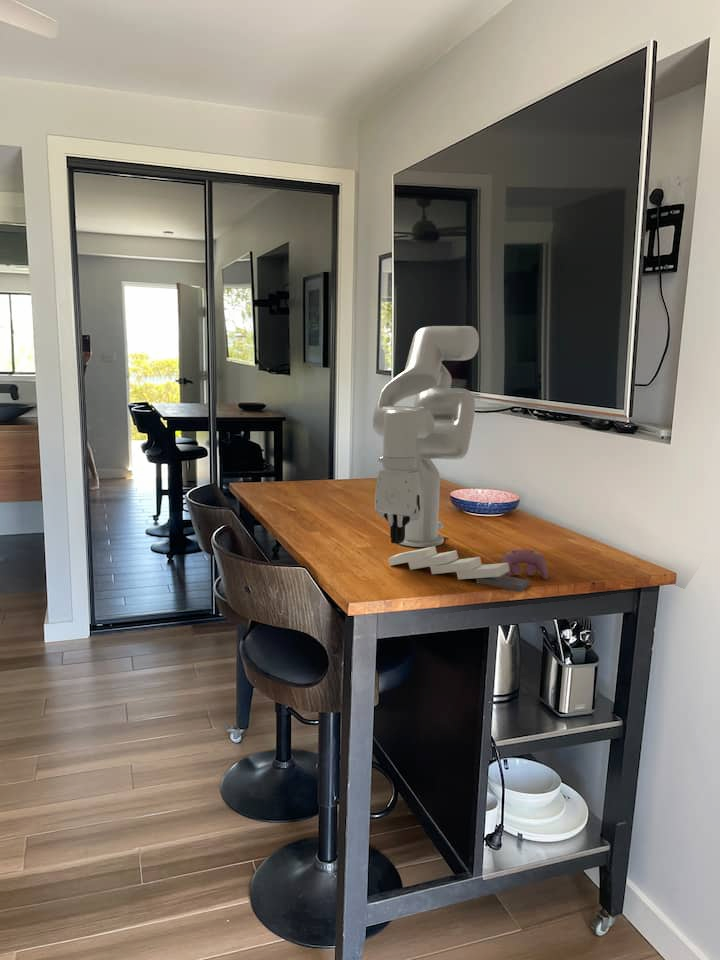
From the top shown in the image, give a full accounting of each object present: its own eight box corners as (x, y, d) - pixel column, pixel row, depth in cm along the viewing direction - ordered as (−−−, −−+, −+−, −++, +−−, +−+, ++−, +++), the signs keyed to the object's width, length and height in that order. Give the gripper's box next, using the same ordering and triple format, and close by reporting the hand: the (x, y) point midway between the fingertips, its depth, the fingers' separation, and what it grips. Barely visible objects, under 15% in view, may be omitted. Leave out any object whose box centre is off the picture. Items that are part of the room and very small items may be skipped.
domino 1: (387, 558, 165) (424, 550, 159) (399, 553, 169) (435, 546, 164) (390, 565, 165) (426, 558, 159) (401, 561, 169) (437, 553, 163)
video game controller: (544, 582, 160) (541, 551, 162) (550, 578, 156) (547, 547, 158) (500, 582, 159) (498, 551, 162) (505, 578, 155) (503, 547, 157)
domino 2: (408, 562, 162) (446, 555, 157) (419, 557, 166) (456, 550, 161) (410, 569, 162) (448, 563, 157) (421, 564, 166) (458, 558, 161)
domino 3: (430, 566, 159) (468, 561, 153) (441, 561, 163) (480, 556, 157) (431, 574, 159) (470, 570, 153) (443, 569, 163) (481, 564, 157)
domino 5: (476, 577, 153) (520, 586, 148) (485, 572, 158) (529, 580, 152) (475, 585, 154) (520, 594, 148) (485, 580, 158) (529, 588, 152)
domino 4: (456, 571, 156) (497, 568, 149) (467, 566, 159) (507, 562, 153) (457, 579, 156) (498, 576, 149) (469, 574, 160) (509, 570, 153)
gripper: (362, 462, 164) (361, 540, 167) (420, 469, 156) (418, 551, 159) (380, 459, 170) (378, 534, 173) (436, 465, 162) (433, 544, 165)
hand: (397, 542), depth 166 cm, fingers closed
